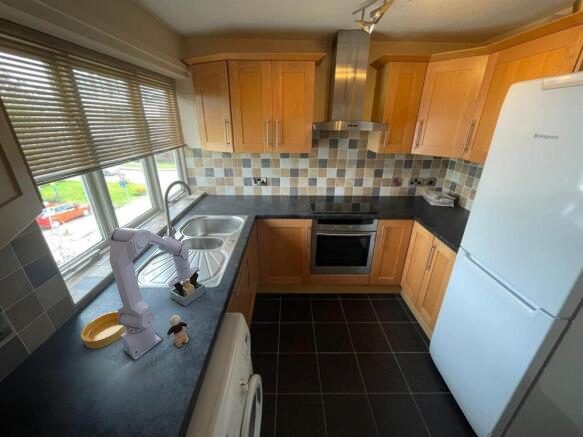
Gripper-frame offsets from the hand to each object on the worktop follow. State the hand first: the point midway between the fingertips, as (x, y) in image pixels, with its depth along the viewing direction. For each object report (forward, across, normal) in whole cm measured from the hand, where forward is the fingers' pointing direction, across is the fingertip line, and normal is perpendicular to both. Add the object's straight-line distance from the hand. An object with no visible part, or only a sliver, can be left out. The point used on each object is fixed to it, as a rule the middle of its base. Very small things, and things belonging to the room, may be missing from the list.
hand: (188, 291), depth 110 cm
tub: (+2, 0, 0) cm, 2 cm away
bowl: (+2, +30, -8) cm, 31 cm away
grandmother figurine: (+2, +18, +20) cm, 27 cm away
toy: (+2, 0, 0) cm, 2 cm away
